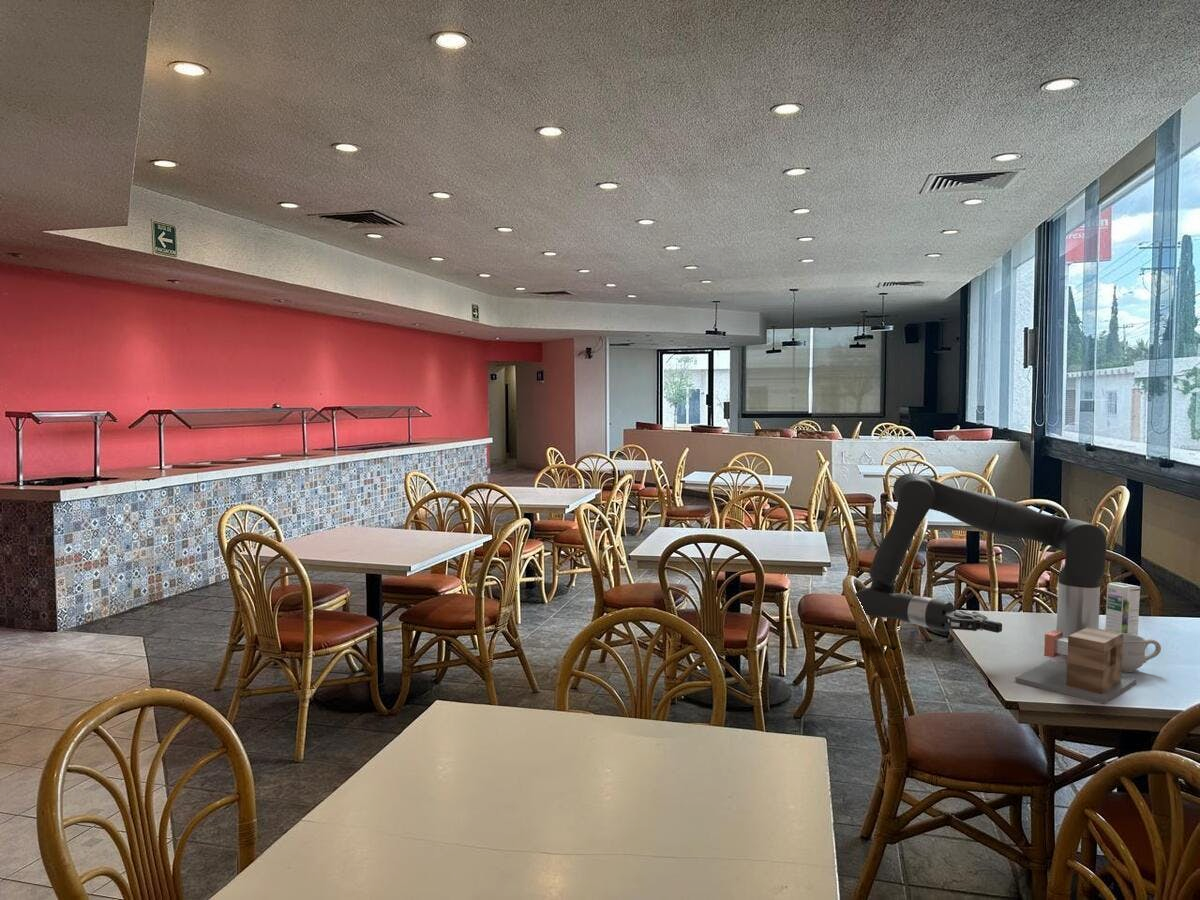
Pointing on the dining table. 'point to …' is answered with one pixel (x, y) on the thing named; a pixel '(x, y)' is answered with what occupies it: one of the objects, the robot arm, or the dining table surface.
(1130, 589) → the syrup box
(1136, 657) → the teacup
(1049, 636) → the red headed square peg
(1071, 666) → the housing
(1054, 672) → the base mat
